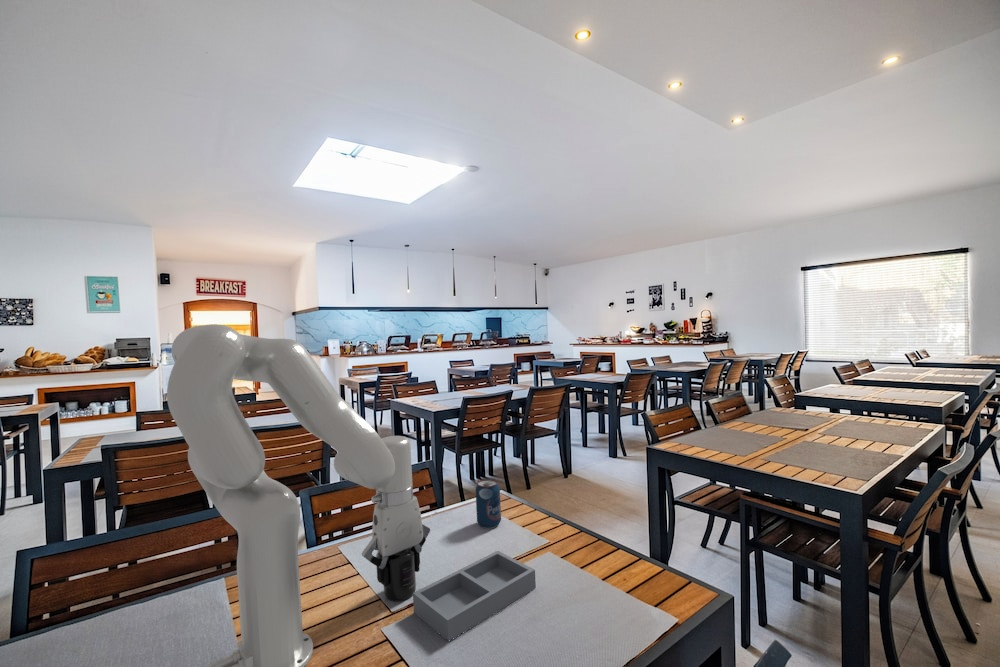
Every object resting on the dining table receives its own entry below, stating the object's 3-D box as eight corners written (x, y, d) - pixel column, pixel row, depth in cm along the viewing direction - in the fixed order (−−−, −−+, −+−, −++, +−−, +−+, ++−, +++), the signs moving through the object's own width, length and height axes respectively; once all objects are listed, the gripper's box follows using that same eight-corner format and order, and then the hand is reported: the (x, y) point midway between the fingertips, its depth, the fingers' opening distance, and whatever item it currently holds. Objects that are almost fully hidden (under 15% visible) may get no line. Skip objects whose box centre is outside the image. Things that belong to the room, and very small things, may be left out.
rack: (448, 641, 83) (447, 620, 83) (413, 612, 92) (412, 593, 92) (535, 587, 98) (534, 569, 98) (498, 567, 107) (497, 550, 107)
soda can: (493, 531, 126) (491, 488, 125) (472, 526, 129) (470, 484, 129) (505, 521, 132) (504, 480, 131) (485, 517, 135) (483, 477, 135)
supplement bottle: (377, 597, 97) (374, 542, 97) (398, 581, 103) (395, 528, 103) (402, 606, 94) (399, 548, 94) (422, 588, 100) (420, 534, 100)
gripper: (365, 512, 90) (370, 601, 90) (438, 488, 101) (442, 567, 102) (349, 502, 95) (353, 586, 96) (420, 480, 107) (424, 555, 107)
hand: (399, 575), depth 99 cm, fingers closed on supplement bottle, 6 cm apart
